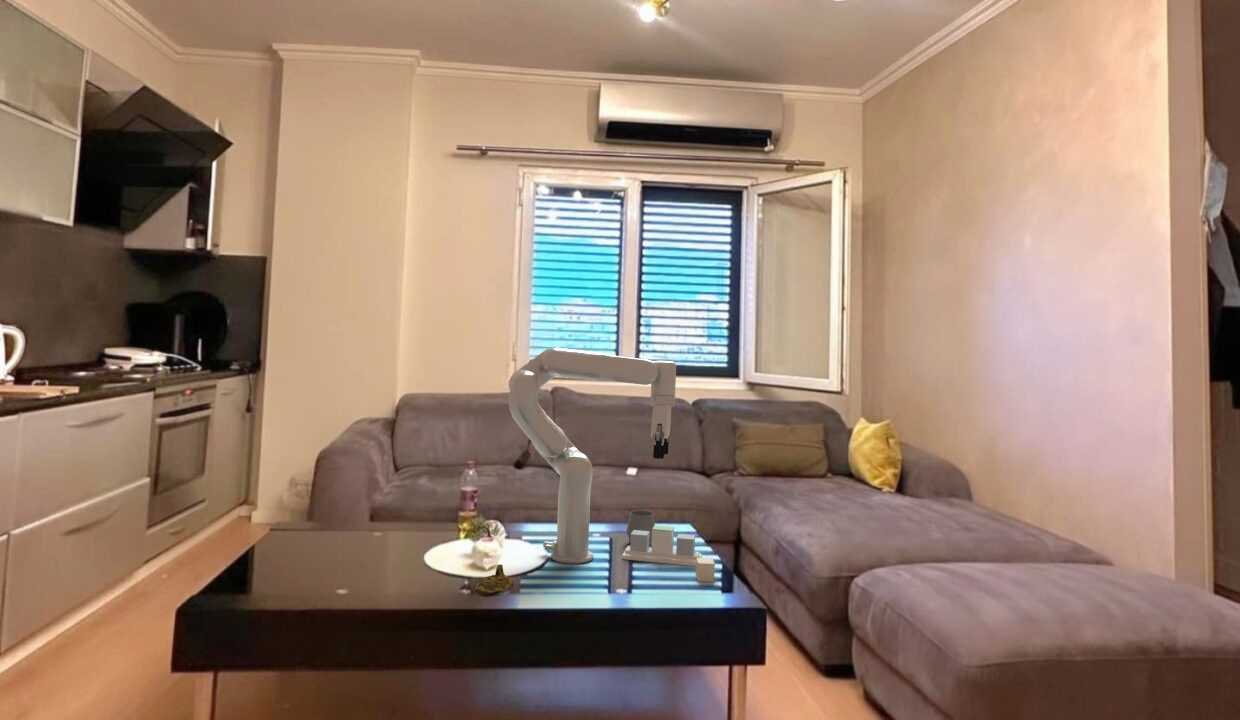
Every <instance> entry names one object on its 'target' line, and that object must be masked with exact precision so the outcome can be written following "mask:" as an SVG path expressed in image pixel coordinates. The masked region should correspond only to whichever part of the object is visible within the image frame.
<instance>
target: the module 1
mask: <svg viewBox="0 0 1240 720" xmlns="http://www.w3.org/2000/svg"><path fill="white" fill-rule="evenodd" d="M674 539H675V527H674V526H667V525H666V526H665V525H655V526H654V527H653V529H652V541H651V548H652V550H651V552H654V553H665V554H672V552H673V550H674V545H675V544H674V541H675V540H674Z"/></svg>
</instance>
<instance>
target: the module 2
mask: <svg viewBox="0 0 1240 720" xmlns="http://www.w3.org/2000/svg"><path fill="white" fill-rule="evenodd" d="M715 565H716V564H715V561H714V559H713V557H711V558H710V557H708V558H707V557H701V558H696V566H695V577H696V581H697V582H706V583H707V582H709V583H710V582H711V583H714V582H715V568H716V567H715Z"/></svg>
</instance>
